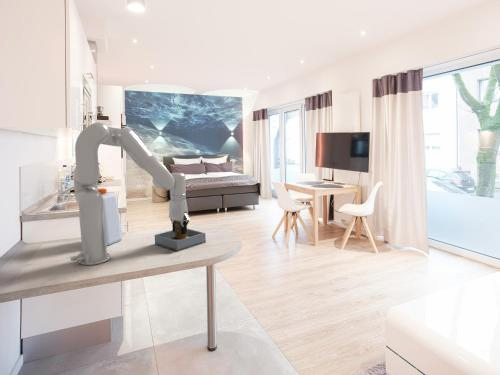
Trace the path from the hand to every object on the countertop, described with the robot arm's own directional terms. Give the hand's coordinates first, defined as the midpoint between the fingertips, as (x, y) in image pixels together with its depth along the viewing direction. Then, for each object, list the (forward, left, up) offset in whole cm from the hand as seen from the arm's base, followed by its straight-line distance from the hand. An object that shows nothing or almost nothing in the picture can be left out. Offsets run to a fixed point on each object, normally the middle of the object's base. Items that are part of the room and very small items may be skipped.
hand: (179, 232), depth 160 cm
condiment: (0, 0, -3) cm, 3 cm away
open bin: (0, 0, -6) cm, 6 cm away
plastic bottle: (-23, +34, -6) cm, 41 cm away
